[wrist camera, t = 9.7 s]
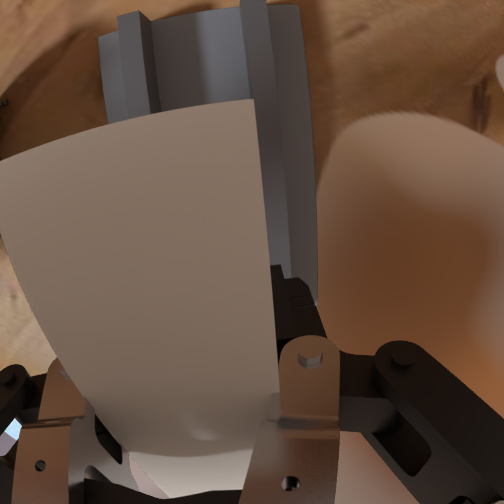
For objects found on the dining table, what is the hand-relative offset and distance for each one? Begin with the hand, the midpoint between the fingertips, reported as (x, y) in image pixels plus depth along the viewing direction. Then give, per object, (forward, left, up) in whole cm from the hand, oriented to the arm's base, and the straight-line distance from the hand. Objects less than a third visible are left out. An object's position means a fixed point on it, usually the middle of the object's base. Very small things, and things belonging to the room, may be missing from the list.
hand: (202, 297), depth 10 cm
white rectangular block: (0, 0, -3) cm, 3 cm away
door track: (0, +1, -14) cm, 14 cm away
